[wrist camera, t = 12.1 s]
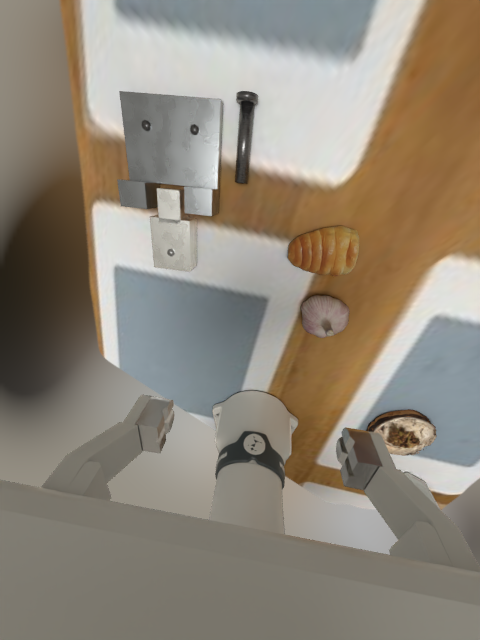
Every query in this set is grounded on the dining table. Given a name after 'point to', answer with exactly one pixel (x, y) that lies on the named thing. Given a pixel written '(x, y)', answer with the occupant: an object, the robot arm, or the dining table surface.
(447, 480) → the dining table surface
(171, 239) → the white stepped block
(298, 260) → the pastry
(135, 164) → the gunmetal leaf
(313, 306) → the garlic bulb
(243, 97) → the hinge pin
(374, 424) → the brown flat two-tone disc
